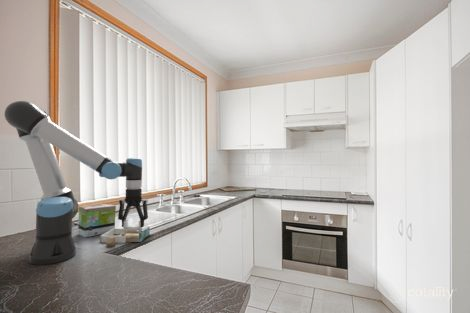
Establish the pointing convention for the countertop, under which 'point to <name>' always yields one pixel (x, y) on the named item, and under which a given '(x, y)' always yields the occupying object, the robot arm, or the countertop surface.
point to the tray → (136, 235)
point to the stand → (110, 242)
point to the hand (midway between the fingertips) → (132, 233)
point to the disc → (132, 227)
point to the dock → (117, 238)
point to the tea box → (96, 219)
